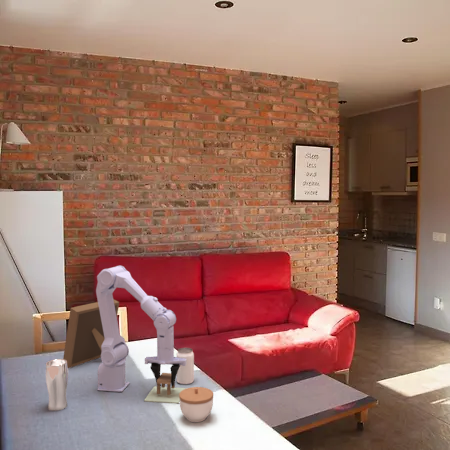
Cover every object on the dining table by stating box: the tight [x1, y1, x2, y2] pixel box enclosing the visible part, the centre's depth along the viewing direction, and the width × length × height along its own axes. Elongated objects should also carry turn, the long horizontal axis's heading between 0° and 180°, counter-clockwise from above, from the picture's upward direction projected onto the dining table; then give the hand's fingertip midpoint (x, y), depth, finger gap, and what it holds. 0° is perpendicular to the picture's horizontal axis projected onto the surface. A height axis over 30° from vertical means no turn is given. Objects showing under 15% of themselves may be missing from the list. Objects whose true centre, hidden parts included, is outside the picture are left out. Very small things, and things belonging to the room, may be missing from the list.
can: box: [176, 347, 195, 385], centre depth 177 cm, size 6×6×12 cm
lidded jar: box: [179, 386, 214, 423], centre depth 148 cm, size 11×11×9 cm
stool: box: [156, 372, 176, 395], centre depth 165 cm, size 7×5×5 cm, turn 172°
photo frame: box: [62, 298, 120, 369], centre depth 197 cm, size 15×22×25 cm
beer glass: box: [45, 358, 69, 412], centre depth 155 cm, size 7×7×15 cm
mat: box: [143, 385, 187, 405], centre depth 165 cm, size 12×12×1 cm
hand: (165, 384), depth 164 cm, fingers closed on stool, 5 cm apart
